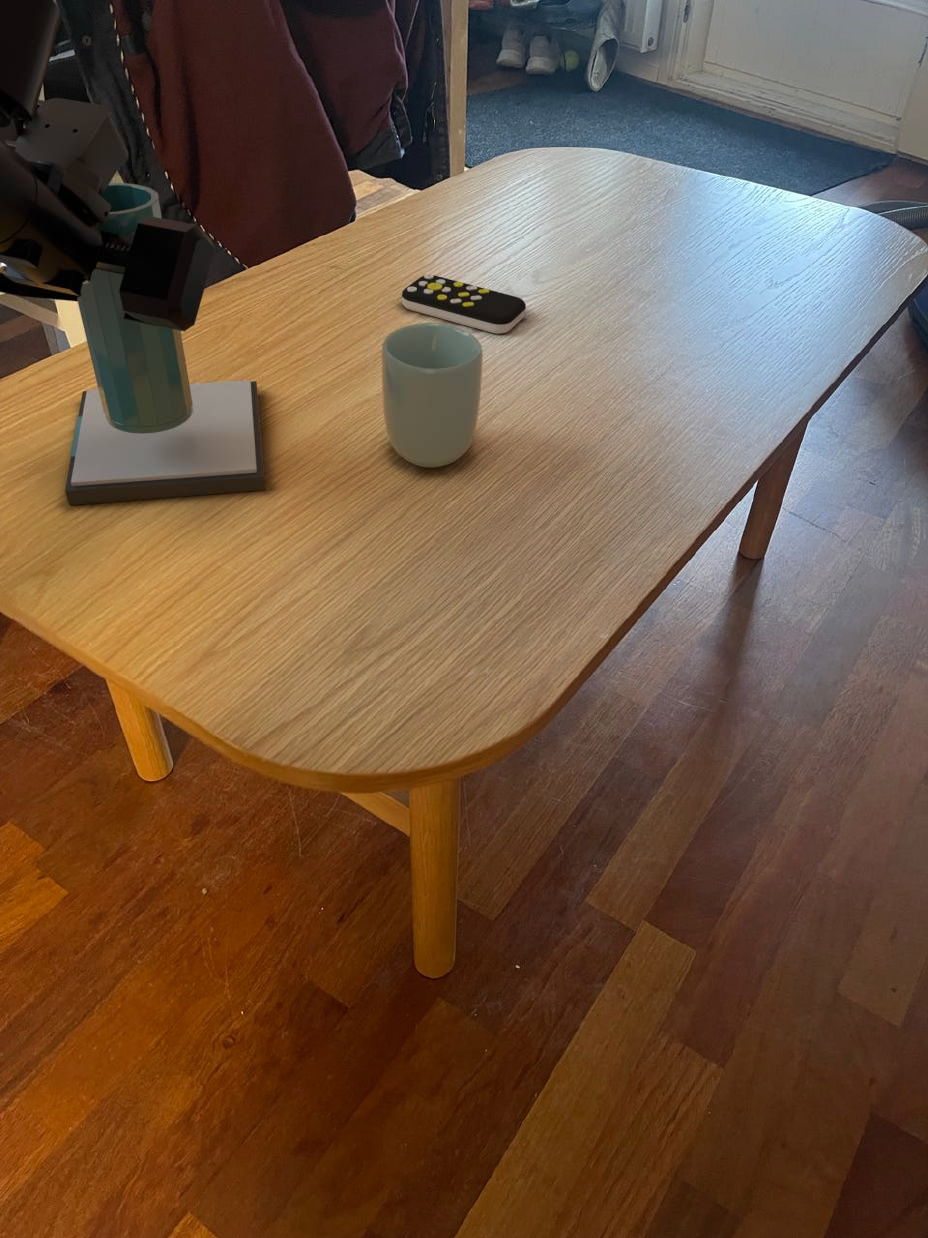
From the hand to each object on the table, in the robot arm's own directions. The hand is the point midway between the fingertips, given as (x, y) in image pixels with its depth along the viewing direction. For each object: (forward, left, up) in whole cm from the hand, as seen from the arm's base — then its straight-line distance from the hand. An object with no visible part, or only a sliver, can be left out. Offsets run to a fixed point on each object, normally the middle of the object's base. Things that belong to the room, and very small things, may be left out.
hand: (139, 304), depth 69 cm
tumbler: (-1, -1, -8) cm, 8 cm away
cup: (+21, -2, -14) cm, 26 cm away
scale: (0, +2, -13) cm, 14 cm away
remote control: (+30, +24, -14) cm, 40 cm away
